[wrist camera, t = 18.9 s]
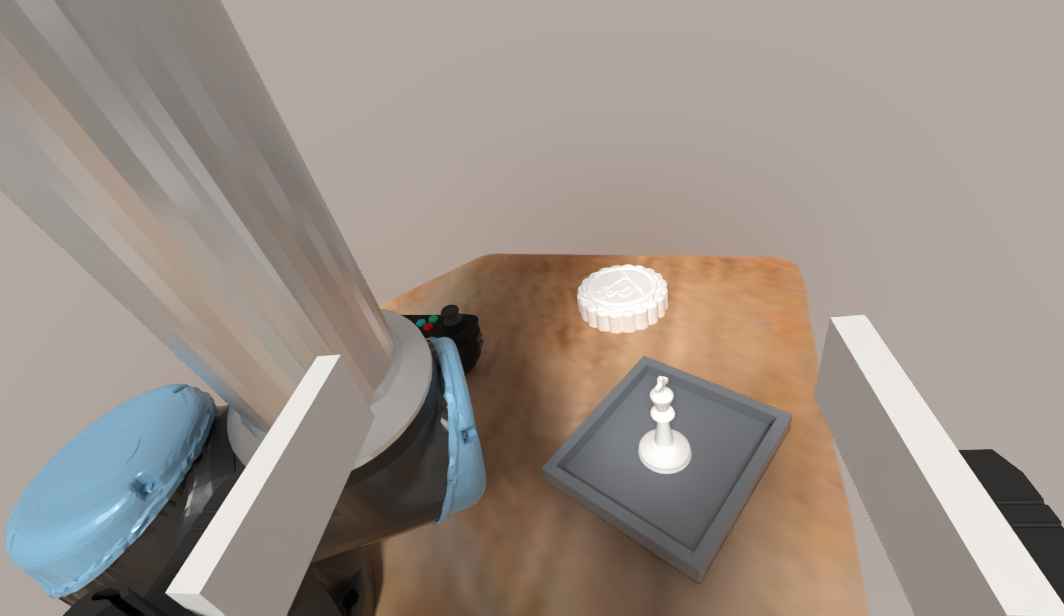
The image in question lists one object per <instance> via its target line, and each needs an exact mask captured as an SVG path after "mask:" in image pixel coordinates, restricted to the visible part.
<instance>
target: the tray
mask: <svg viewBox="0 0 1064 616" xmlns="http://www.w3.org/2000/svg"><path fill="white" fill-rule="evenodd" d="M659 376H662V377H663V376H665V377H667V378H668V383H667V384H666V385H665V387H668V388H670V389H671V390H672V391H673V394H674V397H673V400H672V402H671V404H670V406H672V408H673V409H674V411H675V416H674V418H673V419H672V420H671V421H669V424H670V428H671V429H674V430H676V431H678V432H680V433H681V434H683V435H684V436H685V437H686V438H687V440H688V442H689V444H690V447H691V452H692V456H691V460H690V462H689V464H688V465H687V466H686V467H685V468H684V469H683V470H681V471H679V472H677V473H673V474H661V473H657V472H654V471H652V470H650V469H648V468H647V467H646V466H645V465H644V464H643V463H642V461H641V460H640V457H639V454H638V449H639V443H640V440H641V438H642V437H643V436H644V435H645V434H646V433H647V432H649V431H651V430H653V429H656V426H657V421H655V420H653V419H652V417H651V415H650V411H651V409H652V407H653V406H654V403H653V402H652V400H651V398H650V392H651V390H652V389H653V388H655V386H656V385H657V378H658V377H659ZM791 420H792V414H789V413H787V412H784V411H782V410H779V409H777V408H774V407H772V406H769V405H766V404H764V403H761V402H759V401H756V400H754V399H751V398H749V397H746V396H744V395H741V394H739V393H736V392H734V391H731V390H729V389H726V388H724V387H721V386H719V385H716V384H714V383H711V382H709V381H706V380H703V379H701V378H698V377H696V376H693V375H691V374H688V373H686V372H683V371H681V370H678V369H676V368H673V367H671V366H668V365H666V364H663V363H661V362H658V361H656V360H653V359H651V358H648V357H646V356H643V357H642V358H641V360H640V361H639V362H638V363H637V364H636V365H635V366H634V367H633V368H632V369H631V370H630V372H629V373H628V374H627V375H626V376H625V377H624V378H623V379H622V380H621V381H620V382H619V384H618V385H617V386H616V387H615V388H614V389H613V390H612V391H611V392H610V393H609V394H608V396H607V397H606V398H605V399H604V400H603V401H602V402H601V403H600V404H599V405H598V406H597V408H596V409H595V410H594V411H593V412H592V413H591V414H590V415H589V416H588V417H587V418H586V420H585V421H584V422H583V423H582V424H581V425H580V426H579V427H578V428H577V429H576V430H575V432H574V433H573V434H572V435H571V436H570V437H569V438H568V439H567V440H566V441H565V442H564V444H563V445H562V446H561V447H560V448H559V449H558V450H557V451H556V452H555V453H554V454H553V456H552V457H551V458H550V459H549V460H548V461H547V462H546V463H545V464H544V465H543V467H542V468H541V470H542V473H543V477H544V480H545V481H546V482H547V483H549V484H550V485H552V486H553V487H555V488H556V489H558V490H559V491H561V492H562V493H564V494H565V495H567V496H568V497H570V498H571V499H573V500H574V501H576V502H577V503H579V504H580V505H582V506H583V507H585V508H586V509H588V510H589V511H591V512H592V513H594V514H595V515H597V516H598V517H600V518H601V519H603V520H604V521H606V522H607V523H609V524H610V525H612V526H613V527H615V528H616V529H618V530H619V531H621V532H622V533H624V534H625V535H627V536H628V537H630V538H631V539H633V540H634V541H636V542H637V543H639V544H640V545H642V546H643V547H645V548H646V549H648V550H649V551H651V552H652V553H654V554H655V555H657V556H658V557H660V558H661V559H663V560H664V561H666V562H667V563H669V564H670V565H672V566H673V567H675V568H676V569H678V570H679V571H681V572H682V573H684V574H685V575H687V576H688V577H690V578H691V579H693V580H694V581H696V582H697V583H699V584H700V583H701V581H702V579H703V577H704V576H705V574H706V572H707V571H708V569H709V567H710V565H711V564H712V562H713V560H714V559H715V557H716V555H717V553H718V552H719V550H720V548H721V546H722V545H723V543H724V541H725V540H726V538H727V536H728V534H729V533H730V531H731V529H732V528H733V526H734V524H735V522H736V521H737V519H738V517H739V515H740V514H741V512H742V510H743V509H744V507H745V505H746V503H747V502H748V500H749V498H750V497H751V495H752V493H753V491H754V490H755V488H756V486H757V484H758V483H759V481H760V479H761V478H762V476H763V474H764V472H765V471H766V469H767V467H768V466H769V464H770V462H771V460H772V459H773V457H774V455H775V453H776V452H777V450H778V448H779V447H780V445H781V443H782V441H783V440H784V438H785V436H786V435H787V433H788V431H789V429H790V425H791Z"/></svg>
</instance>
